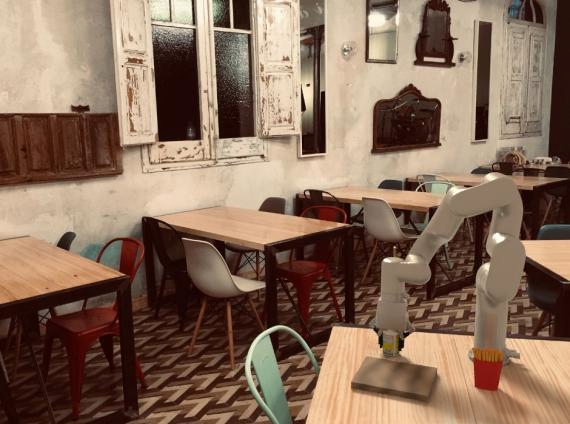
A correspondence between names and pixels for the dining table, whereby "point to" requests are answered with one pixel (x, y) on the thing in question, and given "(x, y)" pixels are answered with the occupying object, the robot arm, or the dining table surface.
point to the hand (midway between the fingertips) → (391, 347)
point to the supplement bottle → (391, 342)
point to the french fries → (487, 368)
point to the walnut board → (395, 378)
